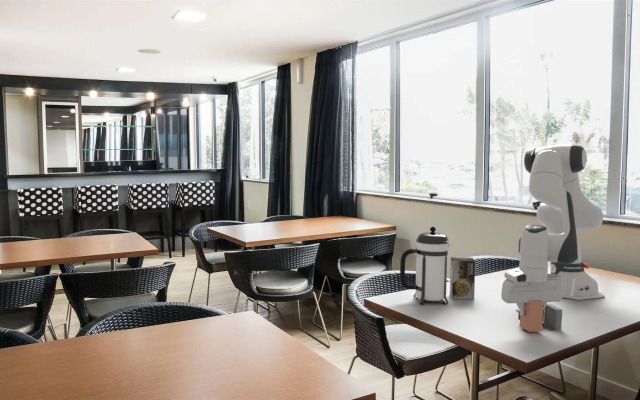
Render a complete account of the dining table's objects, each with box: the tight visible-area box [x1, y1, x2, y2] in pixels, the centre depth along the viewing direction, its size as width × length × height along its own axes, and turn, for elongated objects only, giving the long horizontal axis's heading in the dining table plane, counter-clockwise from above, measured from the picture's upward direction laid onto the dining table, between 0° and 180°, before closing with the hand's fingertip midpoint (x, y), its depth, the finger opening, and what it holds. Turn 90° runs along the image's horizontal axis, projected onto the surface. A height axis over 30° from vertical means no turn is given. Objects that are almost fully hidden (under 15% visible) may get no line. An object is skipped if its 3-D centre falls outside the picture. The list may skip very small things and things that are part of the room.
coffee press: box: [399, 226, 453, 306], centre depth 207 cm, size 17×16×30 cm
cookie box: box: [449, 256, 476, 300], centre depth 214 cm, size 9×6×16 cm
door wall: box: [515, 303, 563, 331], centre depth 186 cm, size 4×22×7 cm, turn 9°
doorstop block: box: [519, 301, 543, 333], centre depth 174 cm, size 4×6×10 cm
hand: (531, 314), depth 174 cm, fingers closed on doorstop block, 4 cm apart
